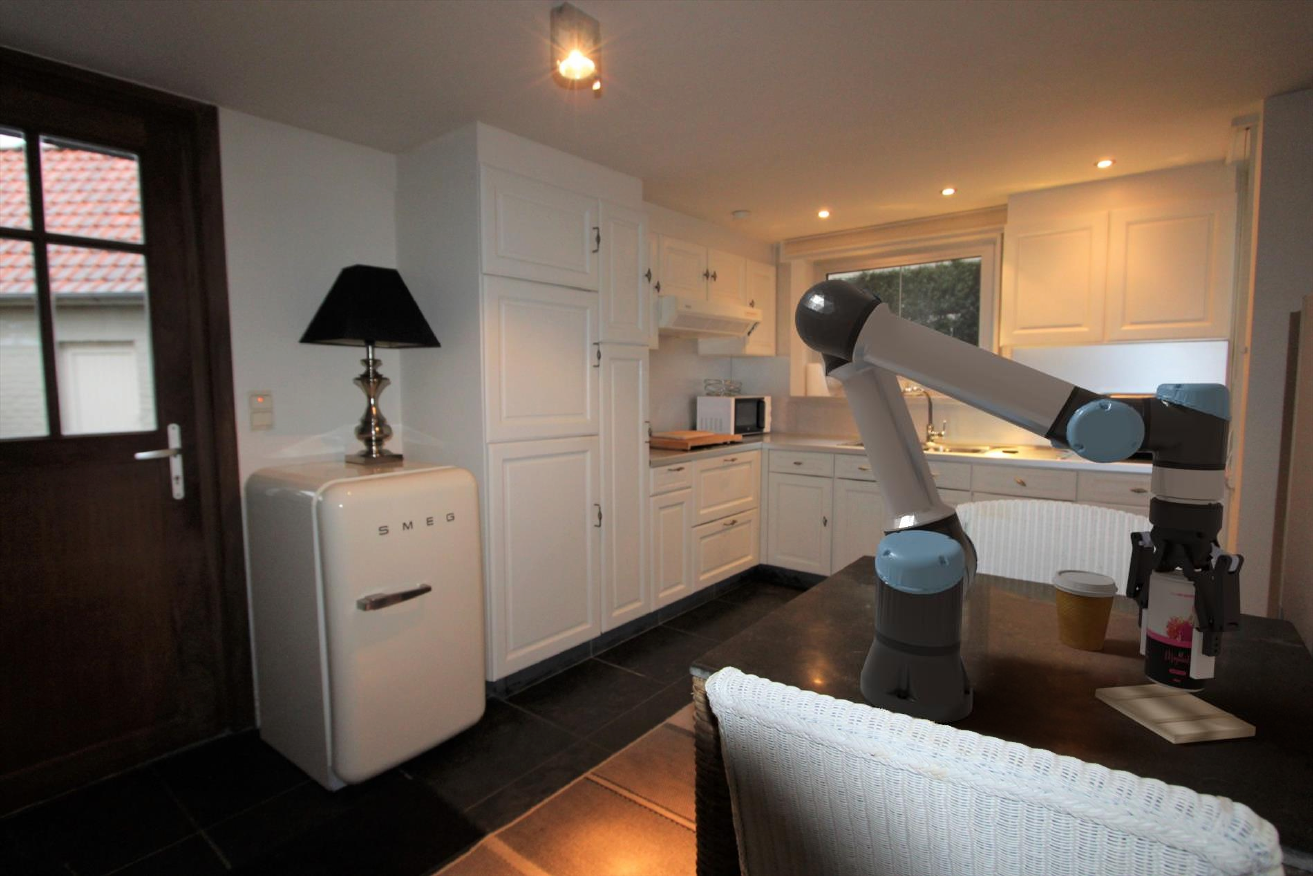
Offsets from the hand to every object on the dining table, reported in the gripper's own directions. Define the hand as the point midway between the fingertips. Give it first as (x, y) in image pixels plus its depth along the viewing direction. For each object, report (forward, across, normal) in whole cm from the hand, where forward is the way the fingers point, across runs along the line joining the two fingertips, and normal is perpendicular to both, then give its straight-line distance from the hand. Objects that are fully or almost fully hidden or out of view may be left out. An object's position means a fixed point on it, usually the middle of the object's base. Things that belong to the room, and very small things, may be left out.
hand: (1175, 664), depth 85 cm
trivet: (+7, 0, 0) cm, 7 cm away
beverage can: (+3, 0, 0) cm, 3 cm away
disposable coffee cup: (+7, +23, -7) cm, 25 cm away
